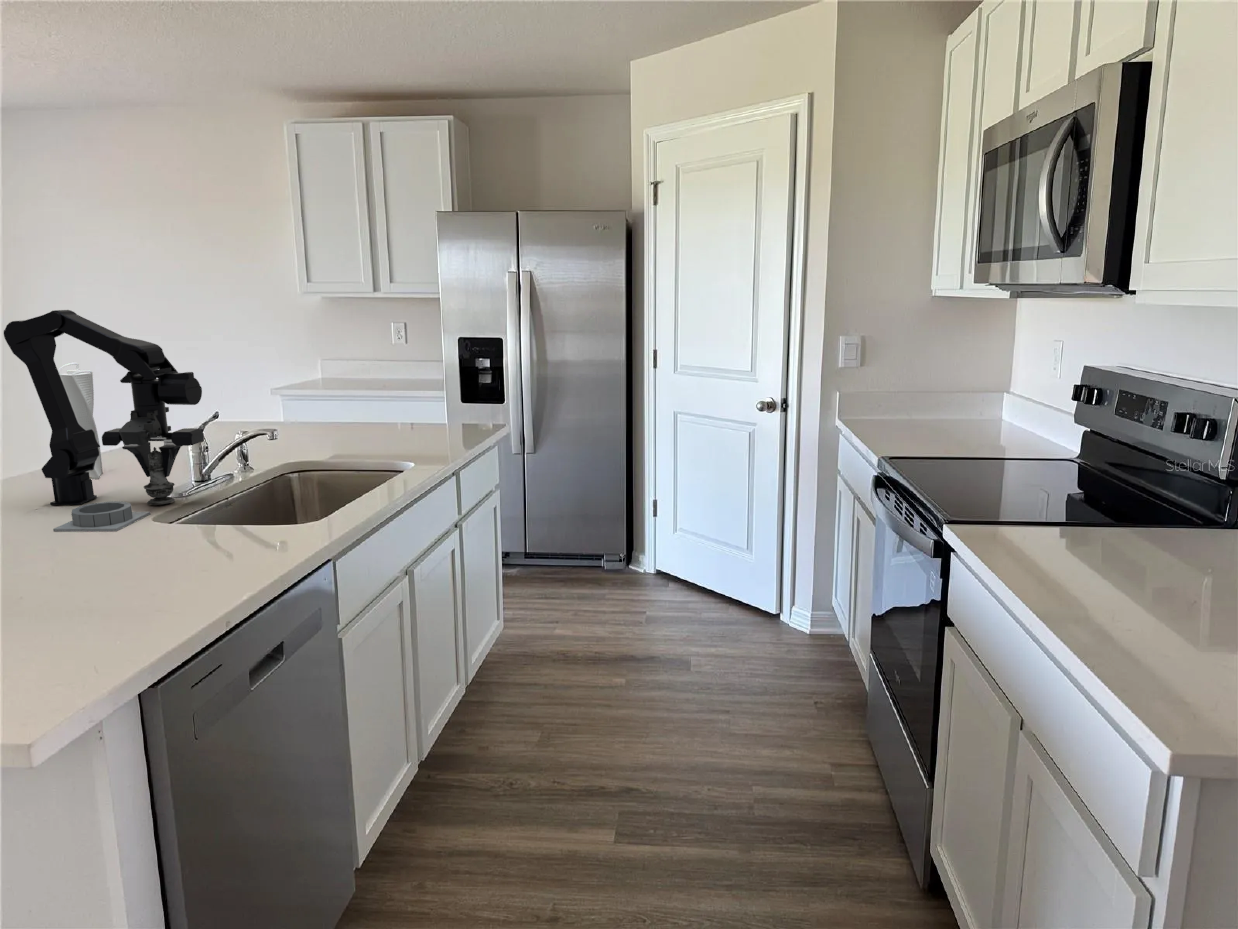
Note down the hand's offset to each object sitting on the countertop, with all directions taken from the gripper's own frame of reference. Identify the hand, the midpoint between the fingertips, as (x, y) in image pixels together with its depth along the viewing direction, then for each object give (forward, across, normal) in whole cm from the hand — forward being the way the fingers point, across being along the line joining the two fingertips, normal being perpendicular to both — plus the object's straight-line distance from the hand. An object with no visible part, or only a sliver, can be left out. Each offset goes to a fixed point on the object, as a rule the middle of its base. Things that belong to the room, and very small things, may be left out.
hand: (158, 476), depth 177 cm
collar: (+6, -4, -14) cm, 16 cm away
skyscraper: (+7, -32, +26) cm, 42 cm away
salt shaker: (+6, 0, 0) cm, 6 cm away
